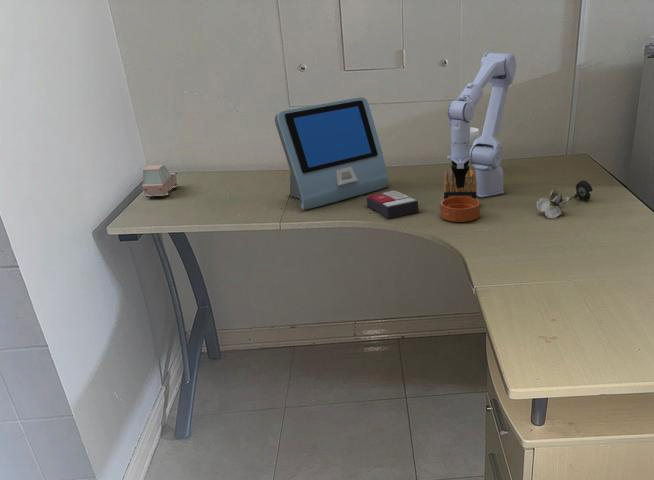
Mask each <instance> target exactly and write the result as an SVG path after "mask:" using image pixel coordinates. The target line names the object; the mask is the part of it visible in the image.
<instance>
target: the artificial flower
mask: <svg viewBox="0 0 654 480" xmlns="http://www.w3.org/2000/svg"><path fill="white" fill-rule="evenodd" d="M575 190H576V192H575V194H574V196H571V197H569V196H567V197H565V198H563V195H562V193H561V194H559V189H558V188H557V187H555V188H552V190H551V192H550V194H549V199H548V198H547V197H541V198H540V199H538V200H537V201H536V208H537V210H538V211H539V212H543V213H544V215H545V216H546V218H547V219H556V218H558V216H560V215H562V210H561V209H560V207H561V206H565V205H566V203H567V202H569V201H571V200H572V199H577V198H578V199H579V200H583V201H588V200H590V199H591V197H592V195H591V192H593V191H594V190H593V187H592V185H591V184H590V182H588V181H586V180H580V181H578V182H577V183H576V184H575Z"/></svg>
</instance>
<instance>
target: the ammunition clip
mask: <svg viewBox="0 0 654 480" xmlns="http://www.w3.org/2000/svg"><path fill="white" fill-rule="evenodd" d="M470 170H471V169H469V170H468V172H467V177H466V180H465V184H464V188H457V186H456V181H455V176H454V173H453V171H452V169H451V170H450V174H449V173H448V169H445V172H444V177H443V200H444V199H446V198H450V197H459V196H460V197H471V198H475V199H477V200H478V198H477V197H478V196H477V182H476V172H475V169H473V170H474V171H473V175H472V177H471V175H470Z"/></svg>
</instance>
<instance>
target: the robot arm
mask: <svg viewBox="0 0 654 480" xmlns="http://www.w3.org/2000/svg"><path fill="white" fill-rule="evenodd" d="M515 56H516V55H515V54H513V52H510V53H499V52H489V51H487V52H486V51H485V53H484V54H483V55H482V57H481V60H480V69H479V70H478V73H477V74H476V76H475V78H474V80H473V82H468V83H467V84H466V86H465V87H464V89H463V90H462V91H461V92H460V94H459V96H457V99H456V100H455V99H454V100H452V101H451V102H449V104H448V107H447V112H446V115H447V118H448V125H449V126H450V131H451V132H450V139H451V140H450V155H447V160H451V166H450V168H451V170H452V171H453V173H454V182H455V181H456V186H457V188H460V189H461V188H464V184H465V182H466V179H467V177H466V174H467V172H468V170H470V165H469V164H471V165H472V168H474V169H475V172H476V182H477V197H479V198H480V199H481V198H488V197H492V196H497V195H502V194H505V191H504V171H503V168H502V167H501V166H500V165H501V163H502V160H503V144H502V143H501V142H500V140H499V139H498V135H499V131H500V127H501V122H502V118H503V113H504V109H505V104H506V102H507V101H506V100H507V95H508V92H509V89H510V85H511V84H513V83H514V78H515V75H516V70H517V59H516V57H515ZM487 84H491V86H492V88H491V92H490V97H489V101H488V106H487V110H486V114H485V120H484V123H483V127H482V132H481V135H479V138H477V139H476V140H474V142H473V146H472V148H471V150H470V127H471V121H472V120H473V118H474V116H475V111H476V108H477V107H476V106H477V105H478V103H479V102H480V100H481V99H482V97H483V95H484V91H483V90H484V88H485V87H486V86H487ZM474 169H473V170H474Z"/></svg>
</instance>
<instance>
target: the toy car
mask: <svg viewBox="0 0 654 480" xmlns="http://www.w3.org/2000/svg"><path fill="white" fill-rule="evenodd" d="M176 185H177V186H176ZM173 186H176V187H175V188H173V189H172V190H177V189H178V182H177V173H176V172H170V171H168V169H167V168H166V166H165V165H164V164H149V165H146V167H144V168H143V169H142V185H141V188H142V190H143V193H144V195H145V194H148V195H164V194H166V193H168V192H169V191H170V189H171V188H172V187H173ZM170 195H171V191H170V192H169V194H168V195H165V196H164V197H170Z"/></svg>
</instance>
